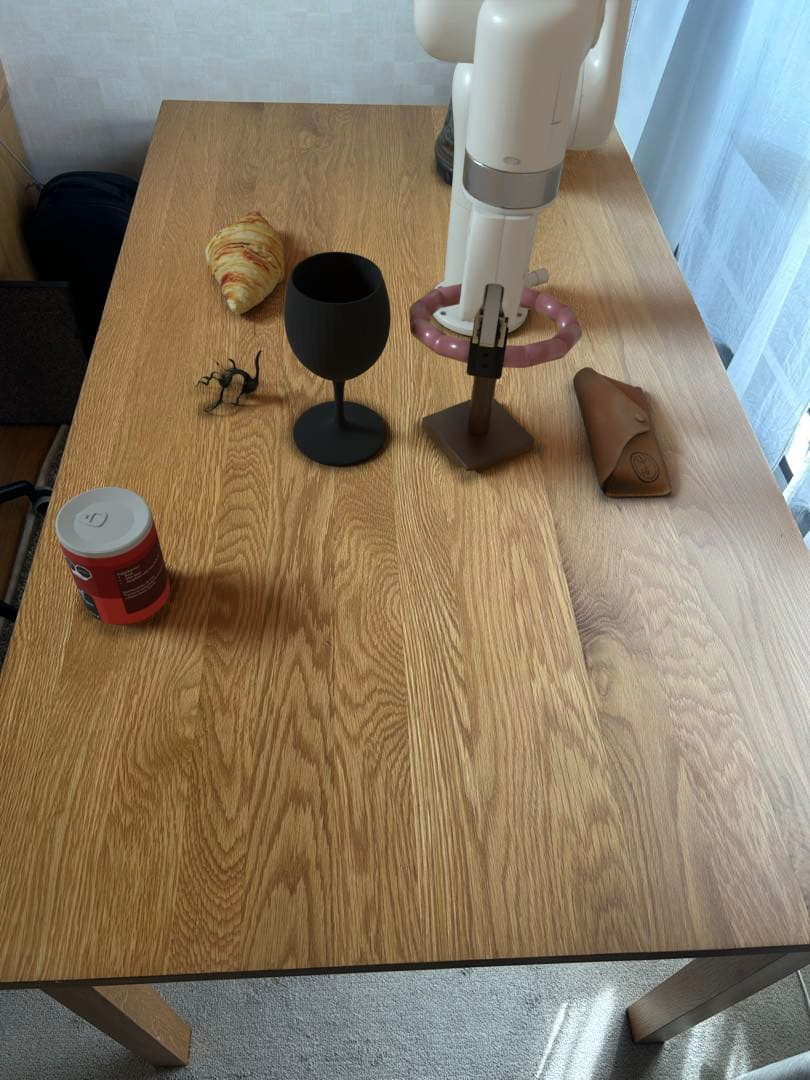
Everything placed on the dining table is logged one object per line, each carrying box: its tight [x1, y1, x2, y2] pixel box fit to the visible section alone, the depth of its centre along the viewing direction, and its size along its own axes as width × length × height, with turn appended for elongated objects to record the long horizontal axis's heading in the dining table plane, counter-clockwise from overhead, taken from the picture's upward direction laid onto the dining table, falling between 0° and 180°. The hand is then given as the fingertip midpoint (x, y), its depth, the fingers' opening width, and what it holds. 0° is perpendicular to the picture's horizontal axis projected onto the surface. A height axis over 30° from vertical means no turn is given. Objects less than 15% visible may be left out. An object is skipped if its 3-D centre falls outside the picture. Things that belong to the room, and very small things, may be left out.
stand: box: [421, 376, 536, 473], centre depth 97 cm, size 9×9×10 cm
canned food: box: [54, 486, 171, 626], centre depth 80 cm, size 8×8×11 cm
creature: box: [195, 349, 263, 413], centre depth 101 cm, size 8×5×8 cm
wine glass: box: [283, 251, 392, 467], centre depth 92 cm, size 10×10×20 cm
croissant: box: [204, 211, 285, 315], centre depth 117 cm, size 21×10×8 cm, turn 1°
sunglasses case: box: [572, 366, 673, 499], centre depth 100 cm, size 18×7×7 cm, turn 3°
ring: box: [408, 284, 583, 369], centre depth 88 cm, size 17×17×2 cm
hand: (485, 363), depth 83 cm, fingers closed on ring, 2 cm apart
